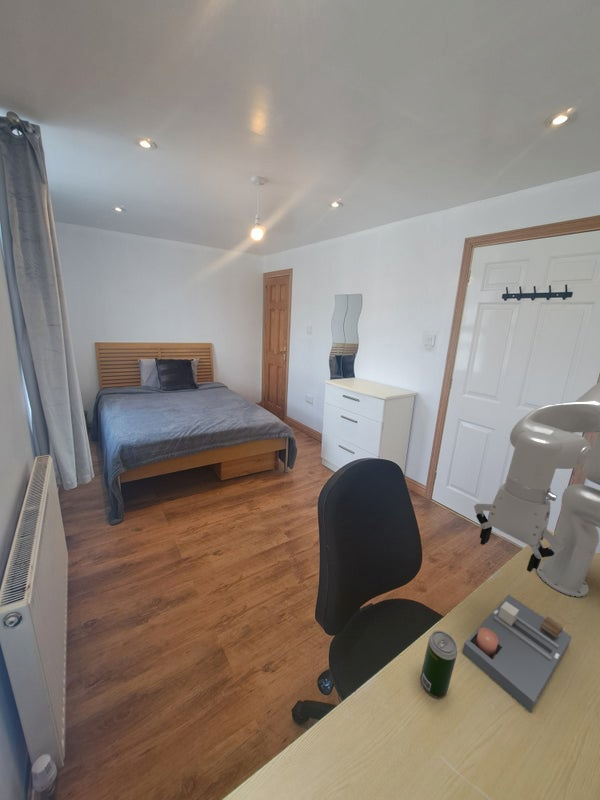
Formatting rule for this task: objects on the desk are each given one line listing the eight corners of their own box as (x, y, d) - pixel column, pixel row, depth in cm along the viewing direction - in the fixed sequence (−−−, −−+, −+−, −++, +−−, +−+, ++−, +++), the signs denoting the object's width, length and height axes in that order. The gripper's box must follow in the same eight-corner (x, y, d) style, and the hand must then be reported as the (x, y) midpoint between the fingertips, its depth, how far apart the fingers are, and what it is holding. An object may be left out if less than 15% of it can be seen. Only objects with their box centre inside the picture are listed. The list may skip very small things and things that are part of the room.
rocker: (546, 619, 80) (547, 616, 80) (561, 629, 78) (563, 626, 78) (540, 626, 77) (541, 623, 77) (556, 637, 75) (557, 633, 75)
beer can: (436, 705, 64) (448, 661, 61) (414, 679, 68) (424, 637, 65) (452, 689, 67) (463, 646, 64) (429, 666, 71) (439, 624, 68)
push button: (480, 635, 77) (483, 624, 76) (498, 649, 74) (501, 638, 73) (472, 644, 74) (475, 633, 74) (490, 659, 71) (493, 648, 70)
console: (506, 603, 89) (509, 592, 88) (568, 645, 78) (572, 634, 77) (462, 652, 75) (465, 640, 74) (530, 712, 64) (535, 699, 63)
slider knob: (502, 611, 82) (505, 601, 81) (515, 620, 80) (519, 610, 79) (497, 616, 80) (500, 606, 80) (510, 626, 78) (514, 616, 77)
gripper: (581, 503, 64) (557, 572, 68) (490, 467, 77) (475, 528, 81) (571, 515, 59) (546, 589, 64) (476, 475, 72) (461, 539, 77)
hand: (506, 554), depth 73 cm, fingers open, 9 cm apart
